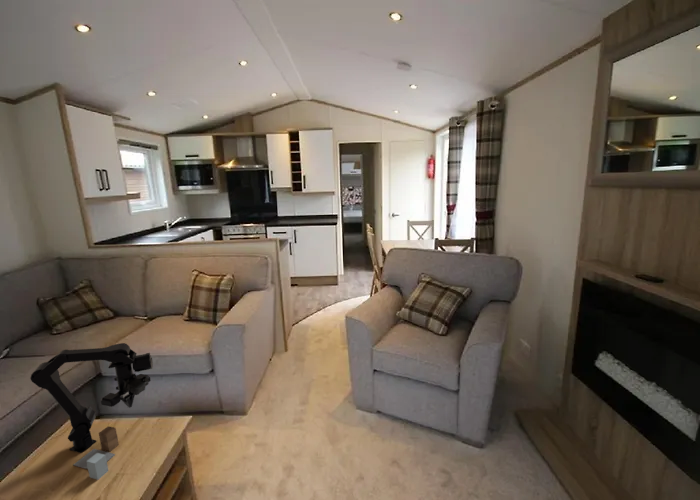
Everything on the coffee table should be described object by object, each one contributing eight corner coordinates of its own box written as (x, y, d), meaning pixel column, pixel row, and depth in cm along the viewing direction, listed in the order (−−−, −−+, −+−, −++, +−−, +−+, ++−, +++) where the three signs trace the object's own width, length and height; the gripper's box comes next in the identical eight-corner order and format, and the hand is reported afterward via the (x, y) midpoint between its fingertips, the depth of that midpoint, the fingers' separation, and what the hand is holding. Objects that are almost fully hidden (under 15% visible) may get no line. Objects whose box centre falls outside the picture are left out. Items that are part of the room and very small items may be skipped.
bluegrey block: (89, 477, 123) (86, 461, 122) (100, 468, 127) (97, 452, 126) (98, 479, 122) (94, 463, 121) (108, 470, 126) (105, 454, 124)
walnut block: (101, 450, 136) (98, 433, 134) (111, 443, 139) (108, 426, 138) (109, 452, 135) (106, 434, 133) (118, 444, 138) (115, 427, 137)
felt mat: (73, 465, 129) (73, 464, 129) (94, 449, 136) (93, 448, 136) (95, 471, 126) (95, 470, 126) (115, 454, 133) (115, 454, 133)
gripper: (119, 390, 129) (125, 425, 132) (158, 364, 147) (162, 396, 150) (96, 385, 132) (103, 420, 135) (137, 361, 150) (142, 392, 153)
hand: (130, 407), depth 143 cm, fingers closed
